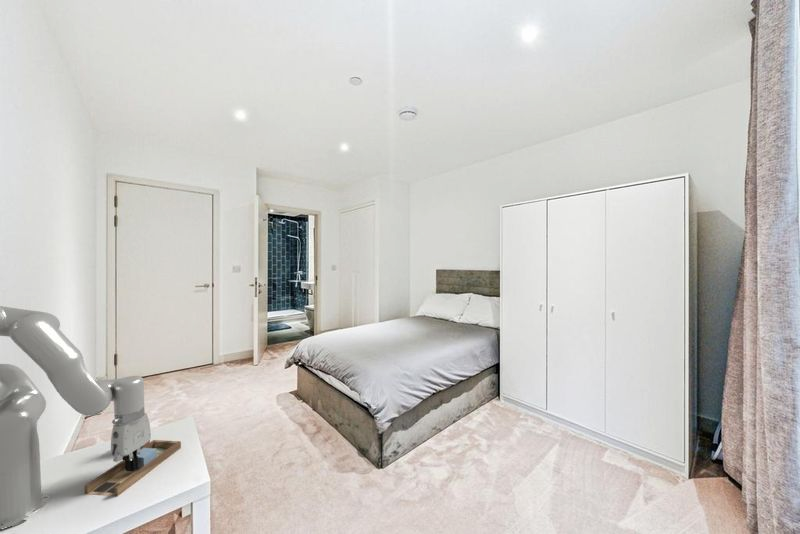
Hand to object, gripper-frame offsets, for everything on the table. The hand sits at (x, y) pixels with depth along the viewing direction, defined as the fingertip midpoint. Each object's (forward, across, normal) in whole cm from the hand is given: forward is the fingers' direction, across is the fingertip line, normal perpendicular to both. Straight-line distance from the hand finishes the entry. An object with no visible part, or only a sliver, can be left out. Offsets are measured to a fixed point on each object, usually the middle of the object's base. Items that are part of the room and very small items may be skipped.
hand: (131, 469), depth 104 cm
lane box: (+2, +2, 0) cm, 3 cm away
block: (+1, +5, 0) cm, 5 cm away
